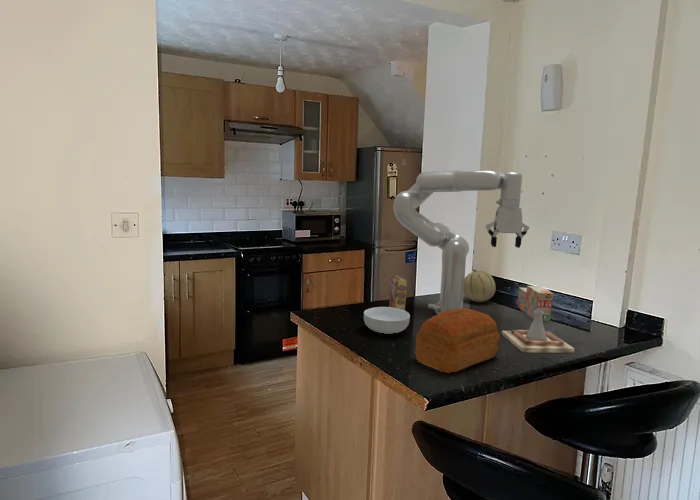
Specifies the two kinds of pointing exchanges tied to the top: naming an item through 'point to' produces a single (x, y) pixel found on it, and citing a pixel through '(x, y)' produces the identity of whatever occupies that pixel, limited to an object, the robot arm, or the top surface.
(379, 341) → the top surface
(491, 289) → the cantaloupe
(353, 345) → the top surface
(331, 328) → the top surface
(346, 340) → the top surface
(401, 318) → the cereal bowl
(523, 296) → the stack of blocks
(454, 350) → the bread
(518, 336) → the board
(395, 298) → the candy box
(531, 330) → the flask
